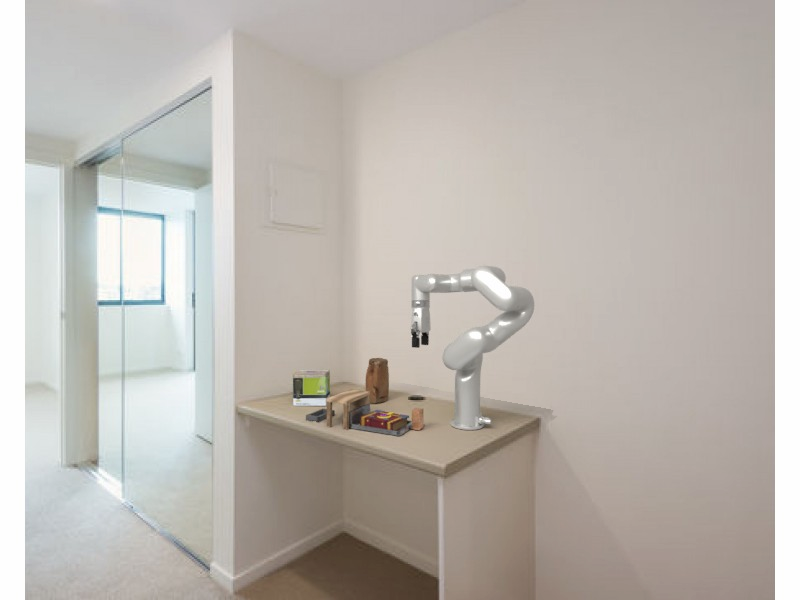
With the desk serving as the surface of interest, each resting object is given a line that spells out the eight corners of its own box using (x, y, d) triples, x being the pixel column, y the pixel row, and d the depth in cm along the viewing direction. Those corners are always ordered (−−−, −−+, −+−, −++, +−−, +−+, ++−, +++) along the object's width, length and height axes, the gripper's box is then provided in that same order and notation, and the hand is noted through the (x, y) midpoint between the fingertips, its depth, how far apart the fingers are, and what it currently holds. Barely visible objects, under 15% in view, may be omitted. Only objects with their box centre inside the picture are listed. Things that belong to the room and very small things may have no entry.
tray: (424, 426, 158) (424, 407, 158) (409, 437, 146) (409, 417, 146) (367, 418, 169) (367, 400, 169) (348, 427, 156) (348, 408, 156)
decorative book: (392, 435, 149) (392, 421, 149) (356, 427, 158) (356, 414, 158) (409, 427, 159) (409, 414, 159) (374, 420, 168) (374, 407, 168)
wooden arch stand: (369, 417, 170) (369, 391, 170) (346, 429, 155) (347, 401, 155) (350, 415, 174) (350, 389, 174) (326, 426, 159) (326, 398, 159)
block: (378, 398, 203) (378, 356, 202) (390, 400, 198) (390, 358, 198) (363, 402, 194) (363, 359, 194) (375, 405, 189) (375, 360, 189)
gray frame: (334, 415, 174) (334, 410, 174) (318, 422, 164) (318, 417, 164) (322, 413, 176) (322, 408, 176) (305, 420, 167) (305, 415, 167)
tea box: (330, 401, 197) (330, 369, 197) (326, 406, 187) (326, 373, 187) (298, 400, 198) (298, 369, 198) (292, 406, 188) (292, 373, 187)
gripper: (420, 305, 166) (420, 349, 166) (436, 304, 181) (436, 344, 182) (403, 305, 169) (403, 347, 169) (420, 304, 185) (420, 343, 185)
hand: (420, 346), depth 175 cm, fingers open, 9 cm apart
